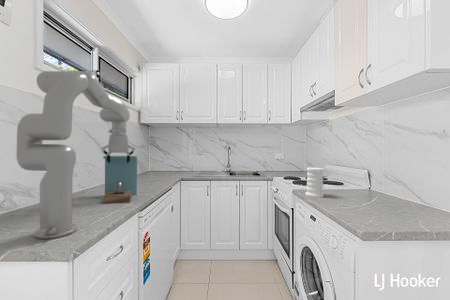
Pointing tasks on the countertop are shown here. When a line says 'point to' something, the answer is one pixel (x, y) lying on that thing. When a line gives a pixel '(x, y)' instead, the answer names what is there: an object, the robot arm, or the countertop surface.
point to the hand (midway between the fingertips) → (118, 162)
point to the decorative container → (315, 182)
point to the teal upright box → (121, 173)
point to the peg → (118, 187)
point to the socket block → (117, 197)
